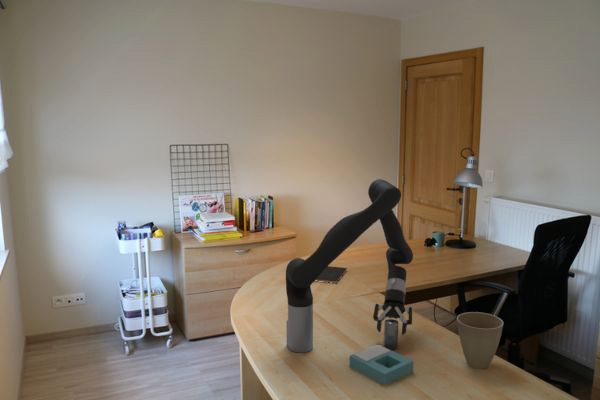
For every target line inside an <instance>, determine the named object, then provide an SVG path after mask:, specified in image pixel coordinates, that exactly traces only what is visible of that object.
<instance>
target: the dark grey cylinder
mask: <svg viewBox="0 0 600 400" xmlns="http://www.w3.org/2000/svg"><path fill="white" fill-rule="evenodd" d="M383 333H384V334H383V336H384V337H383V347H385V348H387V349H389V350H391V351H393V352H395V351H397V350H399V349H398V347H399V345H398V344H399V321H398V320H397V319H394V318H388V319H384V331H383Z"/></svg>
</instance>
